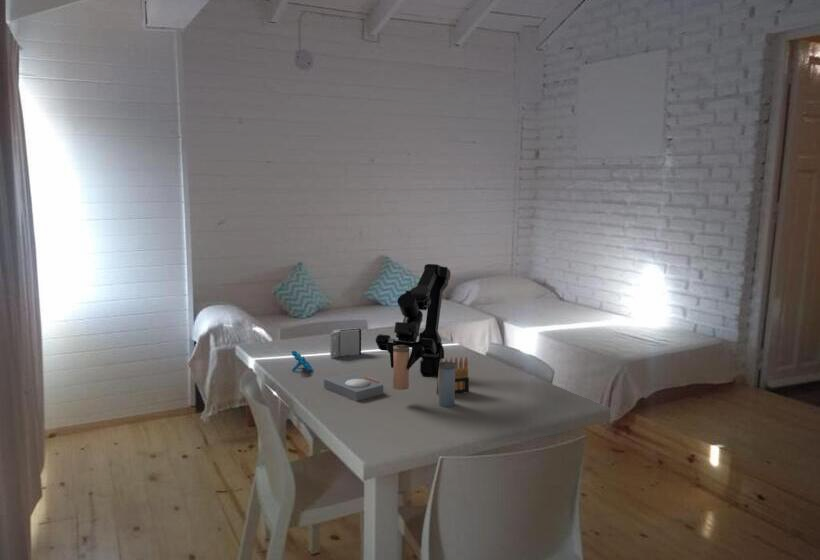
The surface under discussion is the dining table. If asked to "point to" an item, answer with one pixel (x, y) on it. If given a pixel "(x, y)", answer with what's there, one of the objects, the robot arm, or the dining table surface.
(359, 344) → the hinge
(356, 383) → the dock unit
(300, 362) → the gear
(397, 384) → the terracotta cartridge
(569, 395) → the dining table surface
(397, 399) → the dining table surface
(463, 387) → the ammunition clip
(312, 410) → the dining table surface
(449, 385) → the cylinder
